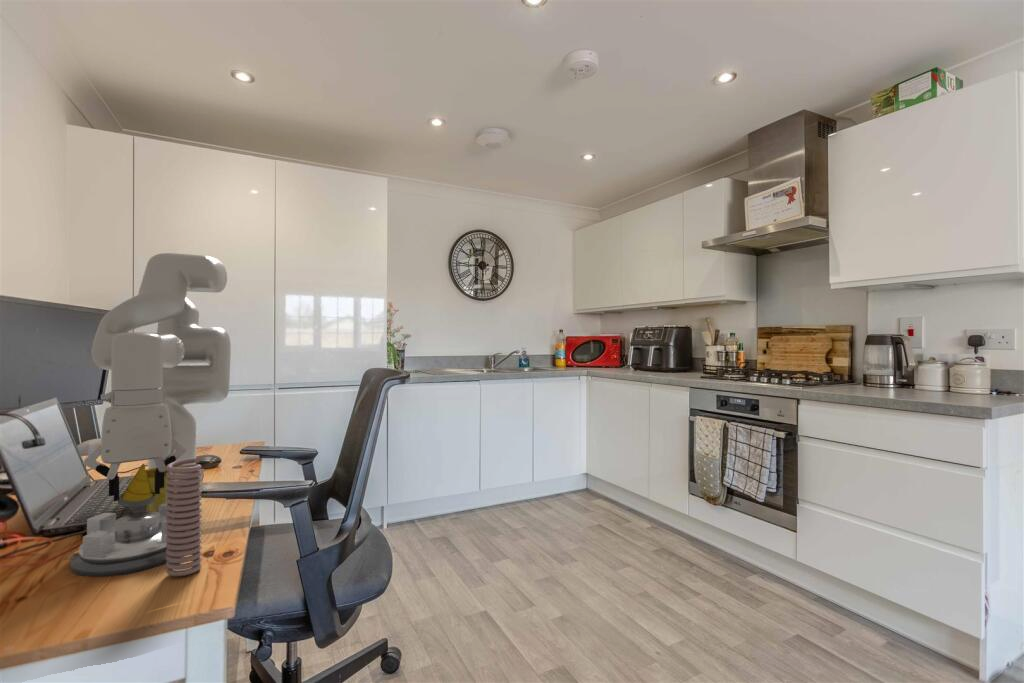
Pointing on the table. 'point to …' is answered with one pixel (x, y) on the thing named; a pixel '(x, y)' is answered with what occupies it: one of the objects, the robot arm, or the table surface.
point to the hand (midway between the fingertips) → (137, 494)
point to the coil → (183, 517)
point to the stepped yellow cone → (138, 492)
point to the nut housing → (116, 565)
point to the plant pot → (162, 496)
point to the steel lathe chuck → (124, 536)
